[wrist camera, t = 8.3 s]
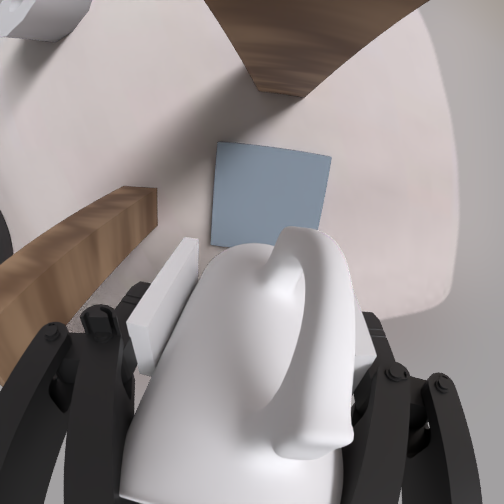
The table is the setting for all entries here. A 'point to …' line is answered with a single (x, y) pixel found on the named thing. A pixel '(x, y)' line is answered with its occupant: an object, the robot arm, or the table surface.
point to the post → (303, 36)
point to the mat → (265, 192)
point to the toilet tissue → (41, 18)
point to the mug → (252, 383)
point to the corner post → (68, 266)
